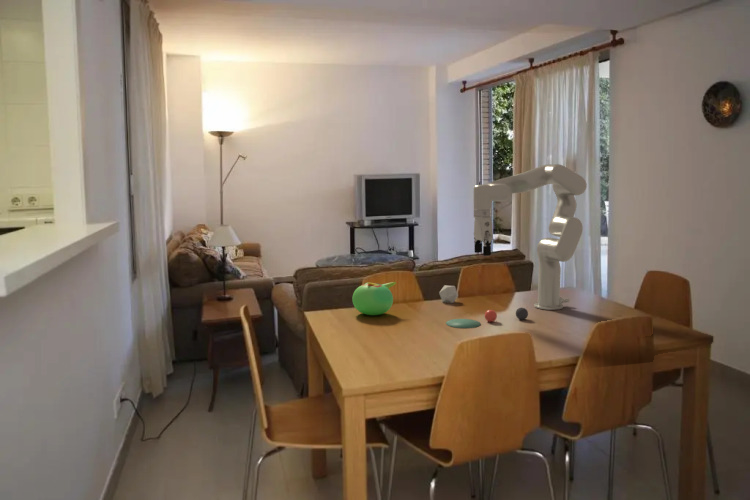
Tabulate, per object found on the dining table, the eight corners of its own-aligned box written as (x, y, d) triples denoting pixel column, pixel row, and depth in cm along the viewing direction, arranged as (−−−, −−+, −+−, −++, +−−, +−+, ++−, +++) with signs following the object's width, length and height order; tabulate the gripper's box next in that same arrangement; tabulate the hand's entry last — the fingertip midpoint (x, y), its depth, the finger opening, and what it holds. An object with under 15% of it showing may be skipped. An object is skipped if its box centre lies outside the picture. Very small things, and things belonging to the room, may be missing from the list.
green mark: (472, 318, 240) (472, 317, 240) (486, 326, 227) (486, 326, 227) (441, 320, 237) (441, 320, 237) (453, 329, 224) (453, 328, 224)
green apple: (346, 316, 246) (345, 283, 244) (364, 308, 261) (364, 276, 259) (383, 321, 238) (382, 286, 236) (400, 312, 253) (400, 279, 251)
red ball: (493, 319, 238) (493, 308, 237) (498, 322, 233) (499, 310, 232) (482, 320, 237) (482, 308, 236) (487, 323, 232) (487, 311, 231)
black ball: (524, 317, 241) (524, 306, 240) (530, 320, 236) (530, 308, 235) (513, 318, 240) (513, 306, 239) (519, 321, 235) (519, 309, 234)
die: (460, 302, 273) (452, 284, 277) (461, 297, 266) (452, 279, 269) (444, 308, 273) (436, 291, 277) (445, 303, 265) (436, 285, 269)
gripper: (499, 215, 233) (499, 256, 235) (483, 212, 250) (483, 250, 252) (482, 215, 231) (481, 257, 234) (466, 212, 248) (467, 251, 251)
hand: (482, 253), depth 243 cm, fingers open, 9 cm apart
